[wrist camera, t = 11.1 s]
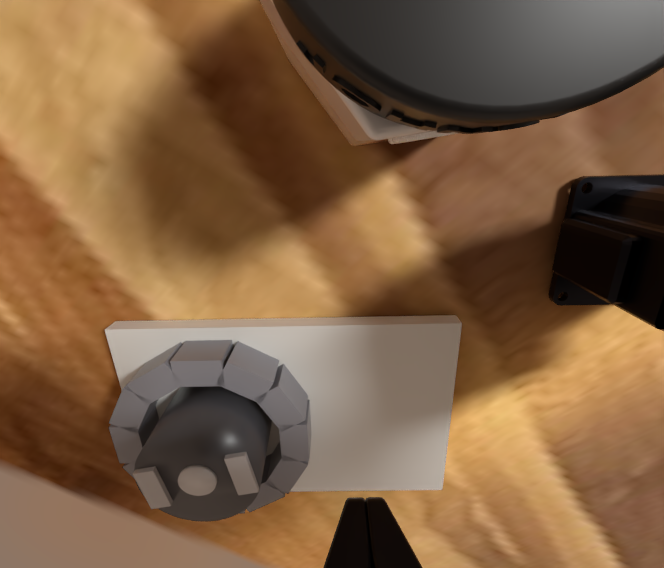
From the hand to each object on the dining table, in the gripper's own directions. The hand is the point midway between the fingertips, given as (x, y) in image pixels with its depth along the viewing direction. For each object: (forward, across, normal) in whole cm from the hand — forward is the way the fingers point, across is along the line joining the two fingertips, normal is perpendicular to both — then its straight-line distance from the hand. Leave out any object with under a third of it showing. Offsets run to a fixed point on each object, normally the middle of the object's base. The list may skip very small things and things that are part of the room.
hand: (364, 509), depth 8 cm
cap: (+11, +8, +7) cm, 15 cm away
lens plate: (+12, +4, +7) cm, 14 cm away
